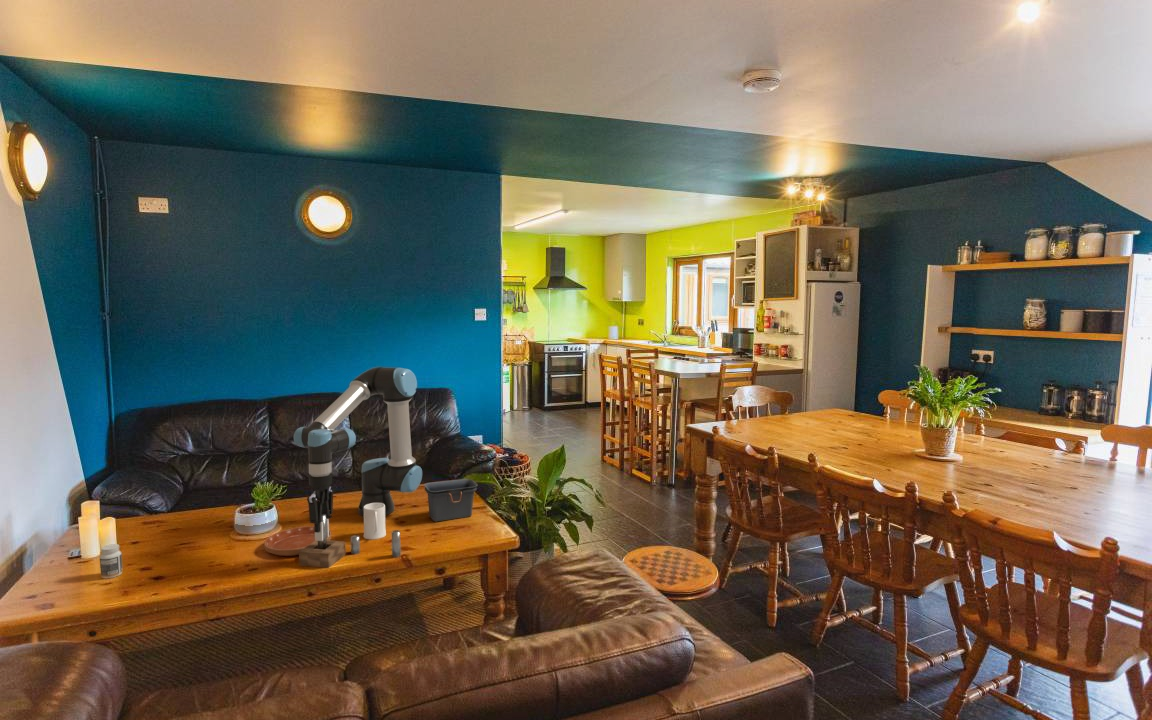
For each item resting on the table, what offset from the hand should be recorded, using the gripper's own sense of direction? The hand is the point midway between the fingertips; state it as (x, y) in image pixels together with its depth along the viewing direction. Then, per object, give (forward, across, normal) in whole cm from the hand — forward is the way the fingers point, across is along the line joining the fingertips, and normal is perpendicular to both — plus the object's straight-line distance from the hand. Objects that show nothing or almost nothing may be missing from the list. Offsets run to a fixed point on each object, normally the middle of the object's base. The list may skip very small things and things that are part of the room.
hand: (322, 538), depth 212 cm
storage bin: (+8, -49, +30) cm, 58 cm away
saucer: (+9, -10, -16) cm, 21 cm away
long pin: (+6, 0, 0) cm, 6 cm away
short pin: (+8, -8, +8) cm, 14 cm away
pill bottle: (+9, +23, -62) cm, 67 cm away
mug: (+8, -23, +8) cm, 26 cm away
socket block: (+8, 0, 0) cm, 8 cm away
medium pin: (+8, -8, +24) cm, 27 cm away
